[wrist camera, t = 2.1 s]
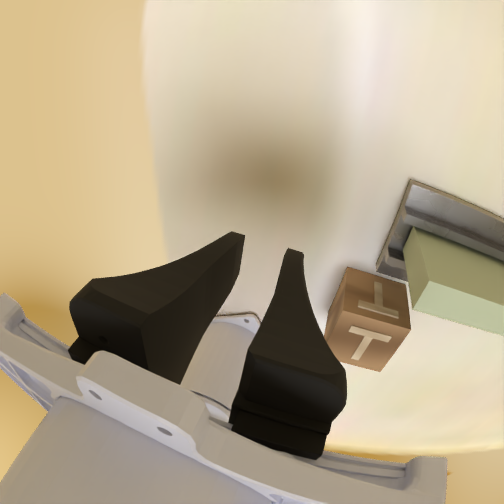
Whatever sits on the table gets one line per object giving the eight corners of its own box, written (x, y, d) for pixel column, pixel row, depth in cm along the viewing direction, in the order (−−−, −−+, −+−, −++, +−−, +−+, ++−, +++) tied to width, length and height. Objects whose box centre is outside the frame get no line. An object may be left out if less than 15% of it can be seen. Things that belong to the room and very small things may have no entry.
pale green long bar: (402, 249, 19) (412, 309, 15) (413, 225, 18) (429, 280, 13) (535, 298, 17) (558, 351, 12) (547, 280, 16) (574, 331, 11)
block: (381, 326, 25) (380, 372, 21) (328, 311, 26) (319, 357, 22) (406, 282, 22) (412, 329, 18) (348, 264, 23) (343, 309, 19)
